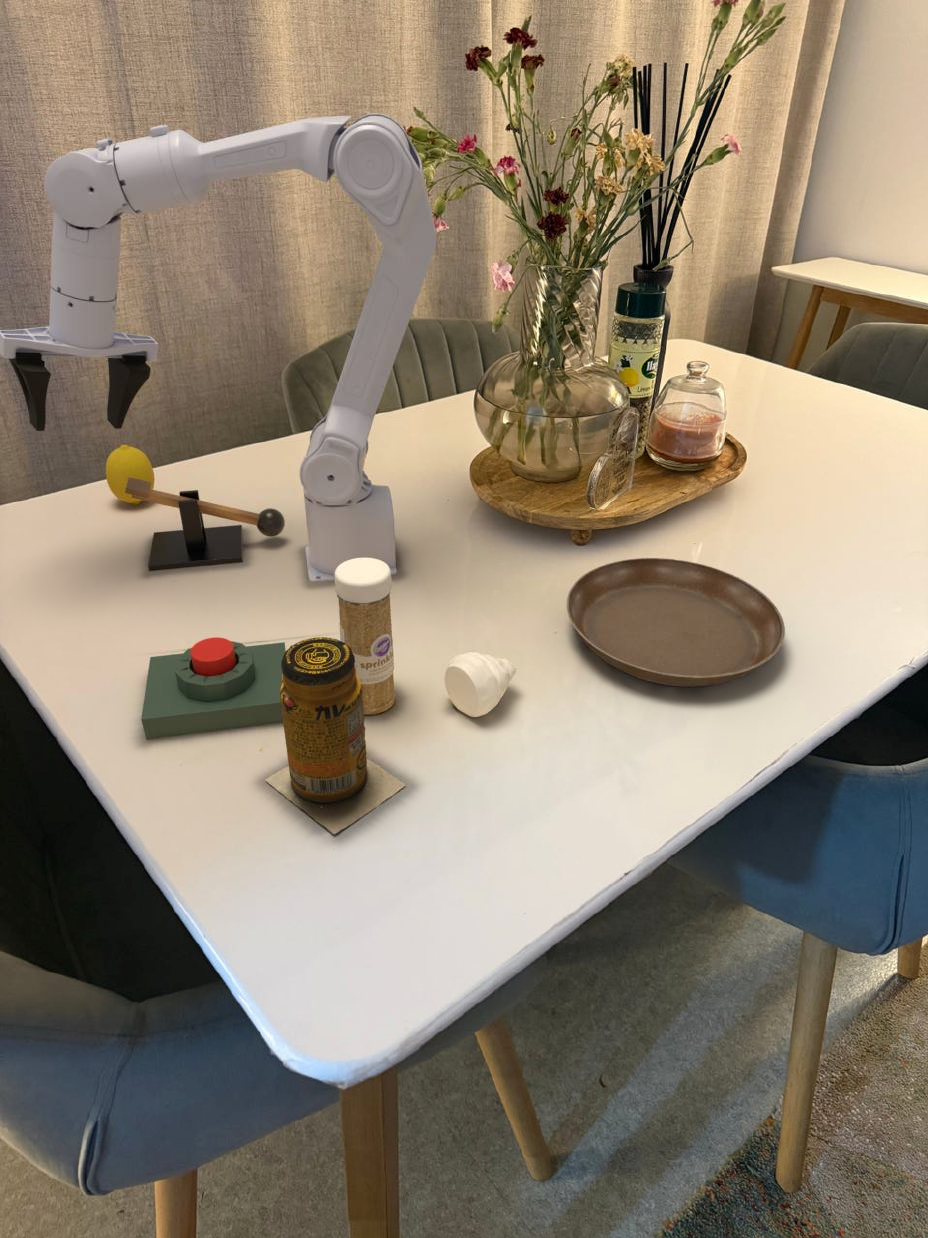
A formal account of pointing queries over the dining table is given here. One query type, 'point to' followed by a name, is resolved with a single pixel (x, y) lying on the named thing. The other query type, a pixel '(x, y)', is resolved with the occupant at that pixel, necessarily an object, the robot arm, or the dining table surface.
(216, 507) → the lever
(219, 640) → the button
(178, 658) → the button box
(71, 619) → the dining table surface
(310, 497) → the robot arm
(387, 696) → the sprinkles bottle
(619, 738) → the dining table surface
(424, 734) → the dining table surface
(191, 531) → the bracket
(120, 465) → the lemon
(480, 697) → the white meringue
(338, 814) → the condiment
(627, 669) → the plant saucer
